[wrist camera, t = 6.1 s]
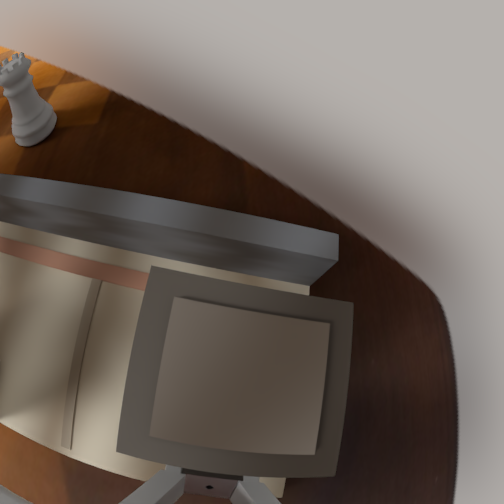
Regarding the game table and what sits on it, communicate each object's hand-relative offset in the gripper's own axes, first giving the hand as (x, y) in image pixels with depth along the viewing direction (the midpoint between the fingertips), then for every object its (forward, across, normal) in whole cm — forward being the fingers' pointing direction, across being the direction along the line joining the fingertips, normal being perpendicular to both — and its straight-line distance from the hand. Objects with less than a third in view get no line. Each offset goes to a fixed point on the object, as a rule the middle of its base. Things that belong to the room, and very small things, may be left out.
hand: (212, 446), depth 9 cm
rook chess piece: (+17, +20, -8) cm, 27 cm away
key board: (+6, +8, +2) cm, 10 cm away
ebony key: (+5, 0, +1) cm, 5 cm away
